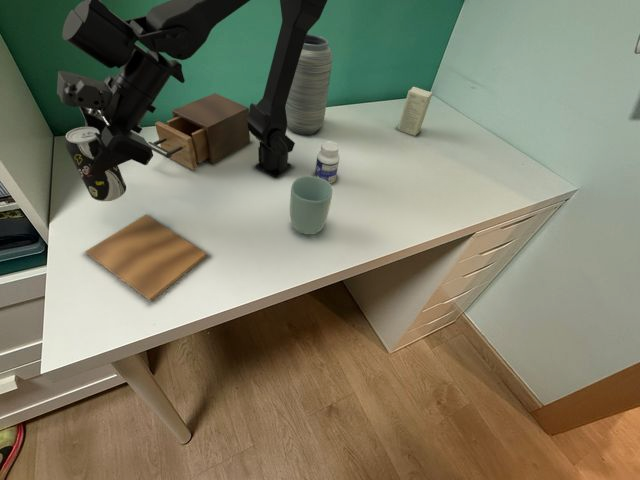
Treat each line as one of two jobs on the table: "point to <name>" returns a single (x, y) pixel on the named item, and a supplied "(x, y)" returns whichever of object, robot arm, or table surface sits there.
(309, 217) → the cup
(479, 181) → the table surface
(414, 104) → the cosmetic box
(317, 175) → the pill bottle
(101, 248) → the wooden board
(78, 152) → the beverage can
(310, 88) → the vase
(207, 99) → the cabinet
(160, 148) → the drawer
